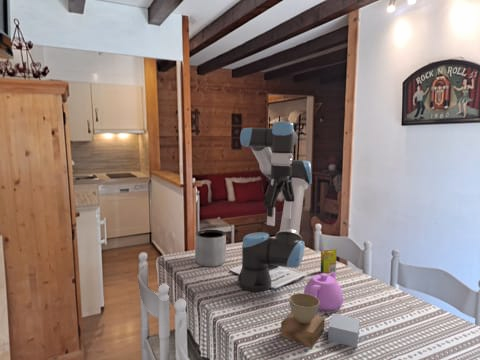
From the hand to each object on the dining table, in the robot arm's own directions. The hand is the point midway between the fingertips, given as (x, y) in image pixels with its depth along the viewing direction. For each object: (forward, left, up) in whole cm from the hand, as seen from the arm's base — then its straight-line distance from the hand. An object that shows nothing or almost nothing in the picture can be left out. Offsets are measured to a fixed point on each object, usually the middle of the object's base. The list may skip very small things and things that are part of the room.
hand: (279, 221), depth 125 cm
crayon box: (+4, +49, -35) cm, 60 cm away
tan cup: (+15, -9, -30) cm, 35 cm away
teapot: (+13, +16, -35) cm, 41 cm away
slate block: (+27, -3, -35) cm, 44 cm away
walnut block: (+15, -10, -35) cm, 39 cm away
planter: (-51, +24, -35) cm, 66 cm away
